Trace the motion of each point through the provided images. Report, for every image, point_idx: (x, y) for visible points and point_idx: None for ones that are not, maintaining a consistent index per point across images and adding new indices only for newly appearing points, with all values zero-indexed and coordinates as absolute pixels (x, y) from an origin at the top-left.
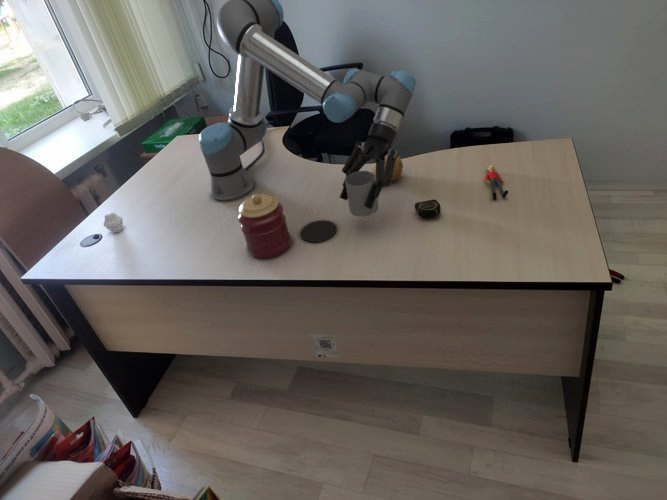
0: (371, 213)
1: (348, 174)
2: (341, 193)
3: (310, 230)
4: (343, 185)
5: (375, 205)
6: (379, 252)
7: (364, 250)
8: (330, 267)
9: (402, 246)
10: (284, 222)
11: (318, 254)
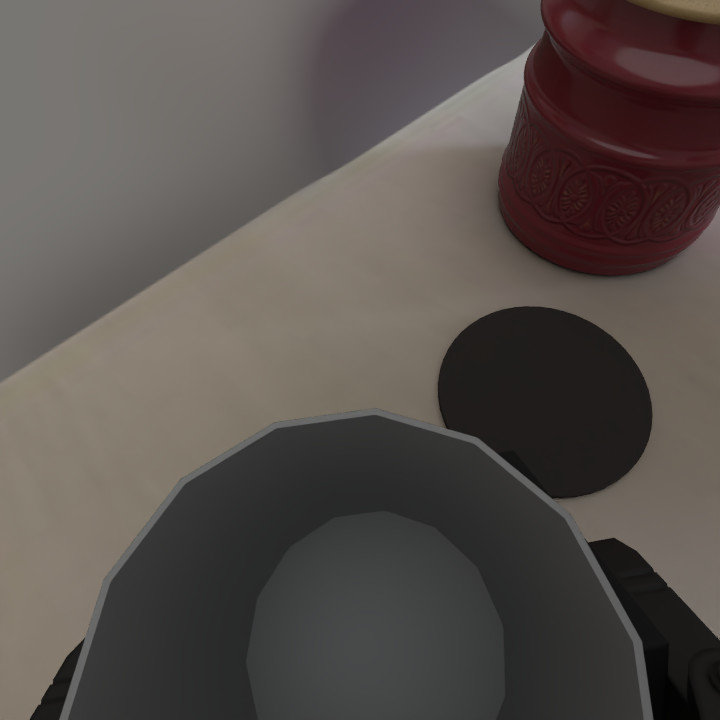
0: (253, 619)
1: (703, 681)
2: (526, 473)
3: (577, 366)
4: (612, 548)
5: (233, 693)
6: (135, 494)
7: (215, 453)
8: (263, 285)
9: (45, 625)
10: (569, 135)
11: (376, 298)
